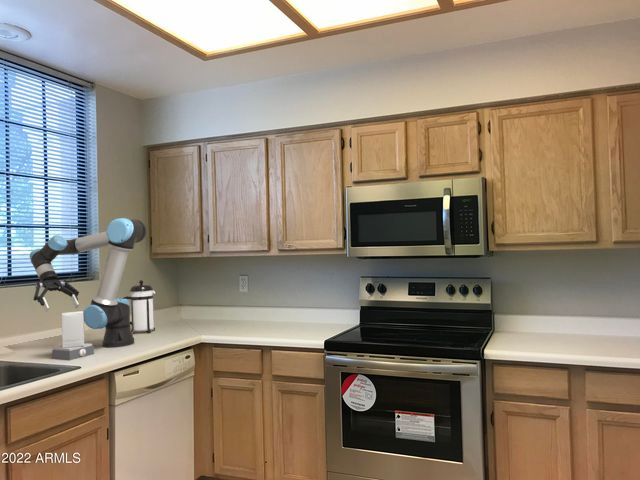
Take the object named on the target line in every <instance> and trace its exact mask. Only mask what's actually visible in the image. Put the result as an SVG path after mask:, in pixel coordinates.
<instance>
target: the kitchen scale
mask: <svg viewBox="0 0 640 480" xmlns="http://www.w3.org/2000/svg"><path fill="white" fill-rule="evenodd" d="M94 348H95V346H94V345H93V343H87V342H86V343H85V342H84V346H76V347H67V348H63V347H62V345H61V346H57V347H53V349H51V356H52V357H51V359H52V360H60V361H61V360H62V361H64V360H65V361H72V360H75V359H80V358H85V357H88V356H92V355H94V354H95V349H94Z"/></svg>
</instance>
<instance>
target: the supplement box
mask: <svg viewBox="0 0 640 480" xmlns="http://www.w3.org/2000/svg"><path fill="white" fill-rule="evenodd" d="M83 312H84V310H81V311H69V312H62V313H61V338H62V339H61V340H62V341H61V343H62V345H61V346H62V347H63V348H67V347H76V346H84V343H85V322H84V316H83Z"/></svg>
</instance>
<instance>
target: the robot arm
mask: <svg viewBox="0 0 640 480" xmlns="http://www.w3.org/2000/svg"><path fill="white" fill-rule="evenodd" d="M147 234H148V227H147V225H146V224H145V223H144V222H143V221H142V220H140V219H135V218H127V217H120V218H115V219H114V220H113V219H112V221H110V223H109V224H108V225H107V228H106V230H105V231H102V232H97V233H94V234H89V235H84V236H79V237H77V238H72V239H66V238H65V237H64V236H62V235H59V234H55V235H53V236H52V237H51V238H50V239H49V240H48V241H47V242H46V243H45V244H44V246H42V248H36V249H35V250H32V251H31V252H30V253H29V259H30V262H31V264H32V267H33V268H34V270H35V273H36V275H37V277H38V278H39V281H37V282H36V284H35V291H34V292H35V293H34V296H33V301H37V302H38V303H39V304H40V306H41V307H43V309H44V312H45V313H47V312H48V311H49V309H50V306H49V304H48V302H47V300H46V297H45V296H46V293H48V291H49V292H53V291H54V292H55V291H58V292H61V293H62V294H64V295H67V296H69V297H70V300H71V302H72V304H73V306H74V309H78V308H79V306H80V304H79V302H78V301H79V298H78V296H79V293H80V291H79V290H78V289H76V288H75V287H74V286H72V285H71V284H70V283H69V282H68V281H67V280H66V279H64V280H63V281H60V279H59V277H58V275H57V272H56V271H55V269H54V266H53V265H52V264H53V263H52V262H54V260H55V259H56V258H57V256H63V255H64V256H65V255H66V256H67V255H70V256H71V255H73V256H75V255H80V254H81V253H84V252H88V251H93V250H97V249H101V248H106V247H109V250H108V253H107V258H106V261H105V264H104V268H103V271H102V275H101V278H100V282H99V287H98V289H97V292H96V293H97V294H96V295H95V296H92V298H91V302H90V304H89V305H87V307H85V308H84V310H83V316H84V324H85V325H86V326H87V327H88V328H89V329H93V330H101V329H104V328H105V330H104V334H103V339H102V341H101V346H102V347H104V348H116V347H117V348H119V347H127V346H129V345H133V344H135V337H134V334H132V333H133V331H132V332H131V330H132V328H131V325H130V322H131V304H130V301H129V300H130V299H122V298H116V297H117V295H118V292H119V287H120V284H121V280H122V276H123V274H124V270H125V266H126V265H127V264H126V263H127V259H128V256H129V253H130V252H131V251H133V250H134V248H135V247H134V246H135V243H140V242H142V241H144V240H145V239H146V238H147ZM41 287H42V288H44V289H43V290H42V292H41V293H40V289H41ZM39 293H40V294H39Z"/></svg>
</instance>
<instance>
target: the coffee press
mask: <svg viewBox="0 0 640 480" xmlns="http://www.w3.org/2000/svg"><path fill="white" fill-rule="evenodd" d="M138 283H139V284H136V285H132V286H131V287H130V289H129V293H130V296H128V295H127V296H125V297H122V298H121V299H128V300H130V326H131V332H132V335H135V334H136V332H137V333H138V332H146V333H147V334H148V335H150V334H152V331H153V332H154V331H155V330H156V328H155V326H154V325H155V321H154V294H156V291H155V290H154V288H153V287H152V285H150V284H143V283H144V281H143V280H142V279H141V280H139V282H138Z"/></svg>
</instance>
